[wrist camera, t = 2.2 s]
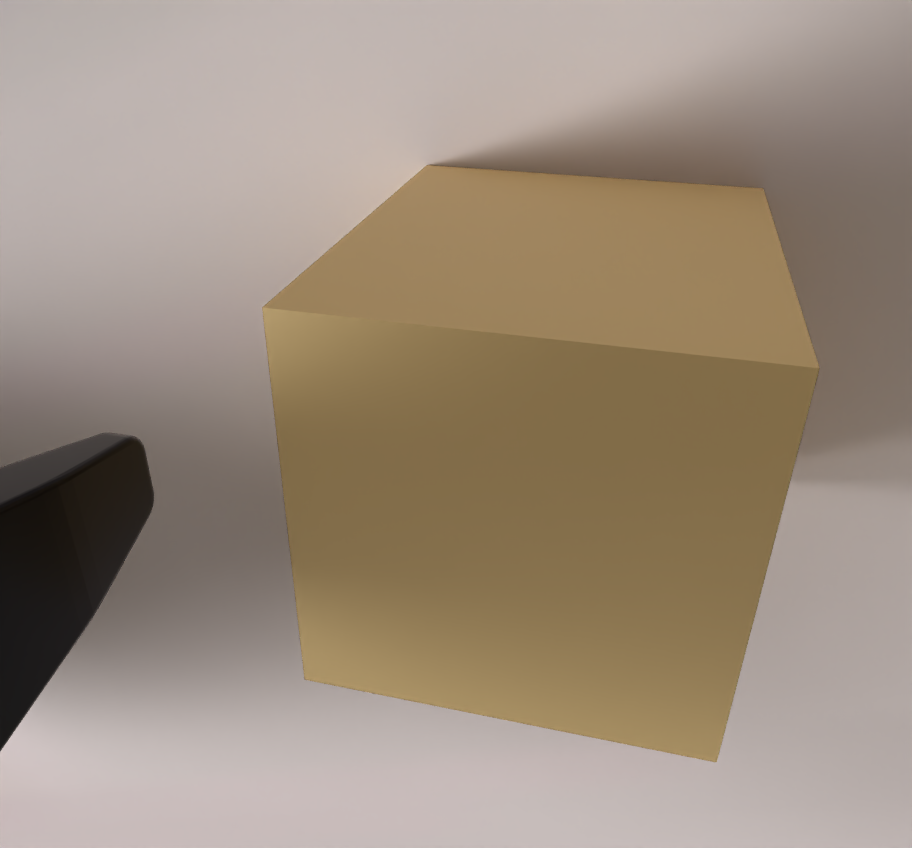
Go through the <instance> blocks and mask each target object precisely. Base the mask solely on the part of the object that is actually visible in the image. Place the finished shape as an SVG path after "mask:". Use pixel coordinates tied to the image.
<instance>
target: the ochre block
mask: <svg viewBox="0 0 912 848" xmlns="http://www.w3.org/2000/svg"><path fill="white" fill-rule="evenodd" d="M262 310H263V319H264V328H265V337H266V345H267V354H268V363H269V372H270V380H271V389H272V398H273V407H274V415H275V424H276V433H277V442H278V450H279V459H280V468H281V477H282V486H283V494H284V503H285V512H286V521H287V529H288V538H289V547H290V556H291V564H292V573H293V582H294V591H295V599H296V608H297V617H298V626H299V635H300V643H301V652H302V661H303V670H304V678H305V680H309V681H314V682H319V683H324V684H329V685H334V686H339V687H344V688H349V689H354V690H359V691H364V692H369V693H374V694H379V695H384V696H389V697H394V698H399V699H404V700H409V701H414V702H419V703H424V704H429V705H434V706H439V707H444V708H449V709H454V710H459V711H464V712H469V713H473V714H478V715H483V716H488V717H493V718H498V719H503V720H508V721H513V722H518V723H523V724H528V725H533V726H538V727H543V728H548V729H553V730H558V731H563V732H568V733H573V734H578V735H583V736H588V737H593V738H598V739H603V740H608V741H613V742H618V743H623V744H628V745H633V746H637V747H642V748H647V749H652V750H657V751H662V752H667V753H672V754H677V755H682V756H687V757H692V758H697V759H702V760H707V761H712V762H717V759H718V755H719V751H720V747H721V743H722V739H723V736H724V732H725V728H726V724H727V720H728V717H729V713H730V709H731V705H732V701H733V697H734V694H735V690H736V686H737V682H738V678H739V674H740V671H741V667H742V663H743V659H744V655H745V652H746V648H747V644H748V640H749V636H750V632H751V629H752V625H753V621H754V617H755V613H756V609H757V606H758V602H759V598H760V594H761V590H762V587H763V583H764V579H765V575H766V571H767V567H768V564H769V560H770V556H771V552H772V548H773V544H774V541H775V537H776V533H777V529H778V525H779V522H780V518H781V514H782V510H783V506H784V502H785V499H786V495H787V491H788V487H789V483H790V479H791V476H792V472H793V468H794V464H795V460H796V457H797V453H798V449H799V445H800V441H801V437H802V434H803V430H804V426H805V422H806V418H807V414H808V411H809V407H810V403H811V399H812V395H813V392H814V388H815V384H816V380H817V376H818V372H819V369H820V368H819V365H818V361H817V358H816V355H815V352H814V349H813V346H812V342H811V339H810V336H809V333H808V330H807V326H806V323H805V320H804V317H803V314H802V310H801V307H800V304H799V301H798V298H797V295H796V291H795V288H794V285H793V282H792V279H791V275H790V272H789V269H788V266H787V263H786V259H785V256H784V253H783V250H782V247H781V244H780V240H779V237H778V234H777V231H776V228H775V224H774V221H773V218H772V215H771V212H770V209H769V205H768V202H767V199H766V196H765V193H764V189H763V188H750V187H735V186H721V185H707V184H692V183H678V182H663V181H649V180H635V179H620V178H606V177H591V176H577V175H562V174H548V173H534V172H519V171H505V170H490V169H476V168H461V167H447V166H433V165H427V166H425V167H424V168H423V169H422V170H421V171H420V172H419V173H417V174H416V175H415V176H414V177H413V178H412V179H410V180H409V181H408V182H407V183H406V184H405V185H403V186H402V187H401V188H400V189H399V190H398V191H397V192H395V193H394V194H393V195H392V196H391V197H390V198H388V199H387V200H386V201H385V202H384V203H383V204H381V205H380V206H379V207H378V208H377V209H376V210H375V211H373V212H372V213H371V214H370V215H369V216H368V217H366V218H365V219H364V220H363V221H362V222H361V223H359V224H358V225H357V226H356V227H355V228H354V229H353V230H351V231H350V232H349V233H348V234H347V235H346V236H344V237H343V238H342V239H341V240H340V241H339V242H338V243H336V244H335V245H334V246H333V247H332V248H331V249H329V250H328V251H327V252H326V253H325V254H324V255H322V256H321V257H320V258H319V259H318V260H317V261H316V262H314V263H313V264H312V265H311V266H310V267H309V268H307V269H306V270H305V271H304V272H303V273H302V274H300V275H299V276H298V277H297V278H296V279H295V280H294V281H292V282H291V283H290V284H289V285H288V286H287V287H285V288H284V289H283V290H282V291H281V292H280V293H279V294H277V295H276V296H275V297H274V298H273V299H272V300H270V301H269V302H268V303H267V304H266V305H265V306H263V307H262Z"/></svg>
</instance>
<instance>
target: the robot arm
mask: <svg viewBox="0 0 912 848" xmlns="http://www.w3.org/2000/svg"><path fill="white" fill-rule="evenodd" d="M153 502H154V491H153V486H152V482H151V477H150V472H149V467H148V463H147V458H146V453H145V449H144V445H143V444H142V442H141V441H140V440H139V439H138V438H136V437H134V436H129V435H122V434H115V433H102V434H99V435H96V436H93V437H90V438H87V439H84V440H81V441H78V442H75V443H72V444H69V445H66V446H63V447H60V448H57V449H54V450H51V451H48V452H45V453H42V454H39V455H36V456H33V457H31V458H28V459H25V460H22V461H19V462H16V463H13V464H10V465H7V466H4V467H1V468H0V751H1V750H2V748H3V747H4V745H5V744H6V743H7V741H8V740H9V738H10V737H11V735H12V734H13V732H14V731H15V730H16V728H17V727H18V725H19V724H20V722H21V721H22V719H23V718H24V717H25V715H26V714H27V712H28V711H29V709H30V708H31V706H32V705H33V704H34V702H35V701H36V699H37V698H38V696H39V695H40V693H41V692H42V691H43V689H44V688H45V686H46V685H47V683H48V682H49V680H50V679H51V678H52V676H53V675H54V673H55V672H56V670H57V669H58V667H59V666H60V665H61V663H62V662H63V660H64V659H65V657H66V656H67V654H68V653H69V652H70V650H71V649H72V647H73V646H74V644H75V643H76V641H77V640H78V639H79V637H80V636H81V634H82V633H83V631H84V630H85V628H86V627H87V625H88V624H89V622H90V621H91V619H92V618H93V616H94V614H95V613H96V611H97V609H98V608H99V606H100V604H101V603H102V601H103V599H104V597H105V596H106V594H107V592H108V590H109V588H110V586H111V585H112V583H113V581H114V579H115V577H116V576H117V574H118V572H119V570H120V568H121V566H122V565H123V563H124V561H125V559H126V557H127V555H128V554H129V552H130V550H131V548H132V546H133V545H134V543H135V541H136V539H137V537H138V535H139V534H140V532H141V530H142V528H143V526H144V524H145V523H146V521H147V519H148V517H149V515H150V513H151V510H152V507H153Z"/></svg>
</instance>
